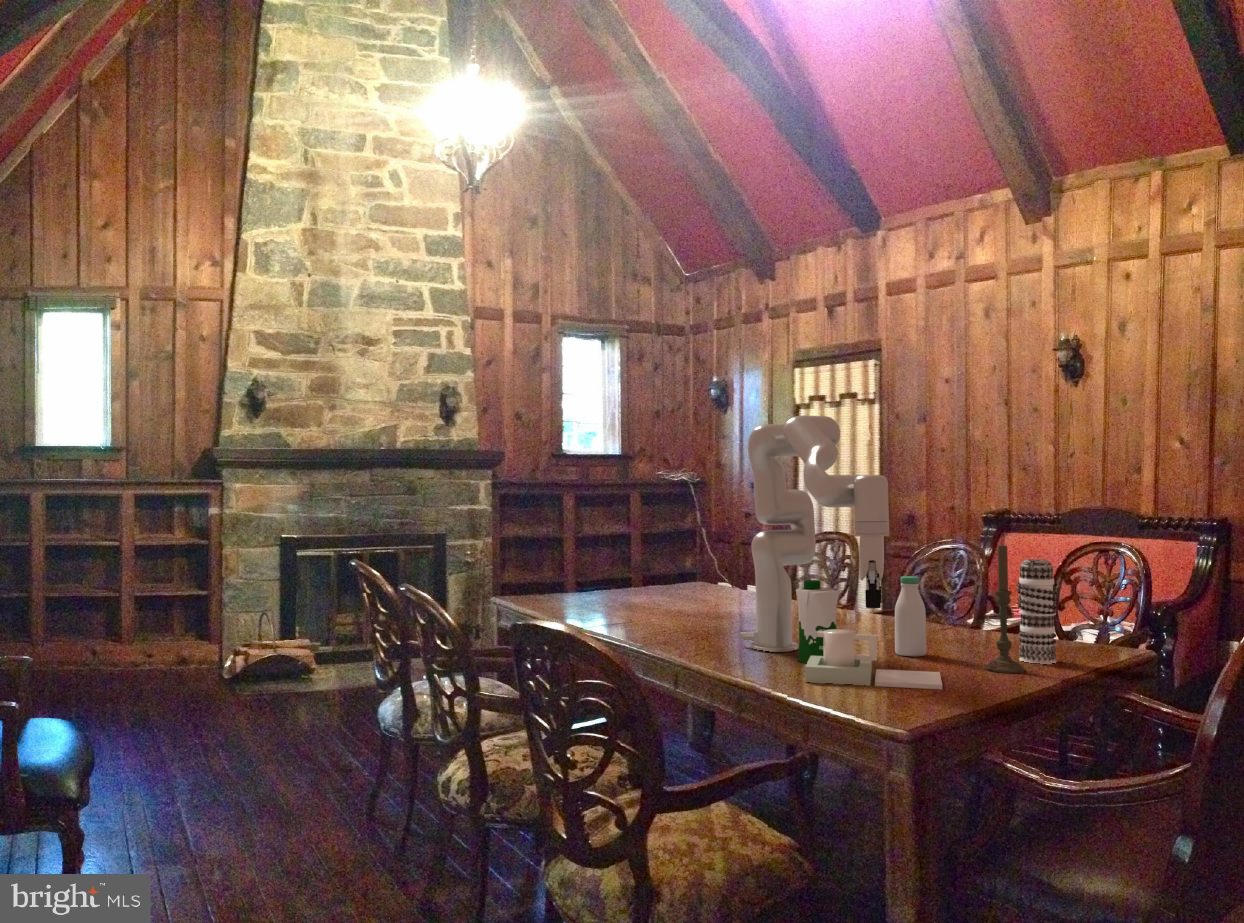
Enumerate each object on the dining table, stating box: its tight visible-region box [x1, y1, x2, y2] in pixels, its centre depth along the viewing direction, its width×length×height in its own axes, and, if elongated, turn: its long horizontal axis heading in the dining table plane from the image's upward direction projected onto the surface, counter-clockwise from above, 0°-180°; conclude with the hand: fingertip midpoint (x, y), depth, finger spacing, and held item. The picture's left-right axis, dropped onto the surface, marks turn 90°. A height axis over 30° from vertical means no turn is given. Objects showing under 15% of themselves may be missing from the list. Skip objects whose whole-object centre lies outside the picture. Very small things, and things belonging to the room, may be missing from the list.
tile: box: [874, 668, 943, 690], centre depth 213 cm, size 14×14×1 cm
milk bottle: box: [894, 575, 927, 657], centre depth 246 cm, size 8×8×20 cm
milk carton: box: [795, 579, 840, 664], centre depth 236 cm, size 9×9×20 cm
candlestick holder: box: [983, 542, 1026, 674], centre depth 226 cm, size 9×9×30 cm
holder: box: [804, 656, 873, 687], centre depth 218 cm, size 14×14×4 cm
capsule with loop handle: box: [817, 628, 878, 667], centre depth 217 cm, size 13×7×10 cm, turn 74°
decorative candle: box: [1015, 558, 1058, 665], centre depth 236 cm, size 9×9×25 cm
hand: (873, 605), depth 215 cm, fingers open, 9 cm apart
